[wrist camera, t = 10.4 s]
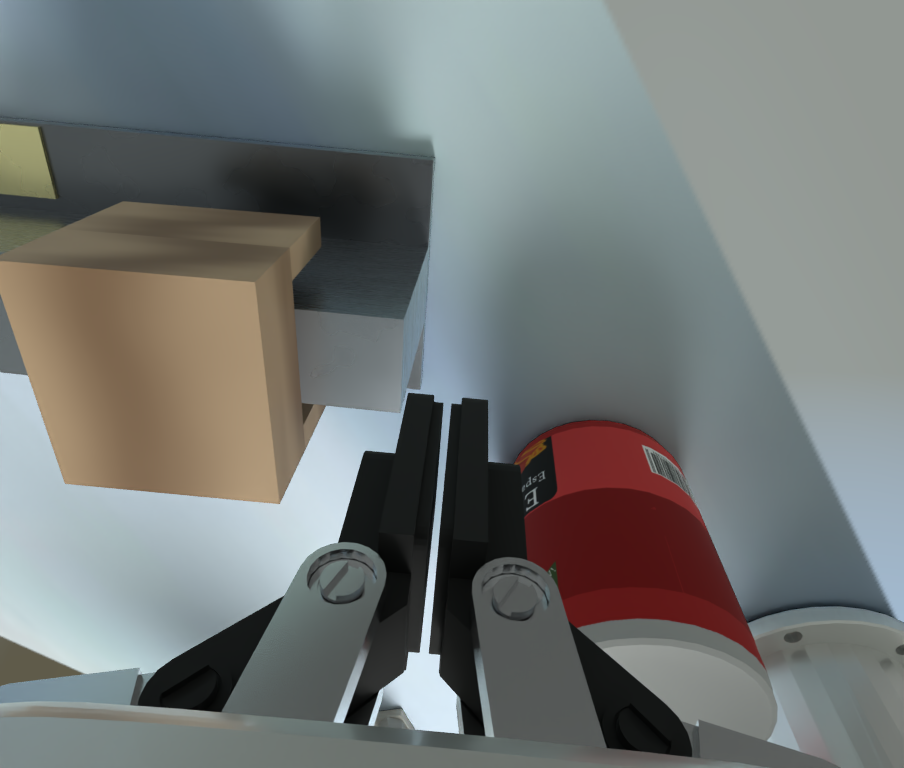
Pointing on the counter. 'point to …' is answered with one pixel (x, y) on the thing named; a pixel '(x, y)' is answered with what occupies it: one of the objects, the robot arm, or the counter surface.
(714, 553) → the canned food
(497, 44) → the counter surface
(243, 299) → the tan slotted wooden block
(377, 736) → the robot arm
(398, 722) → the skyscraper
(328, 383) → the notched rail
